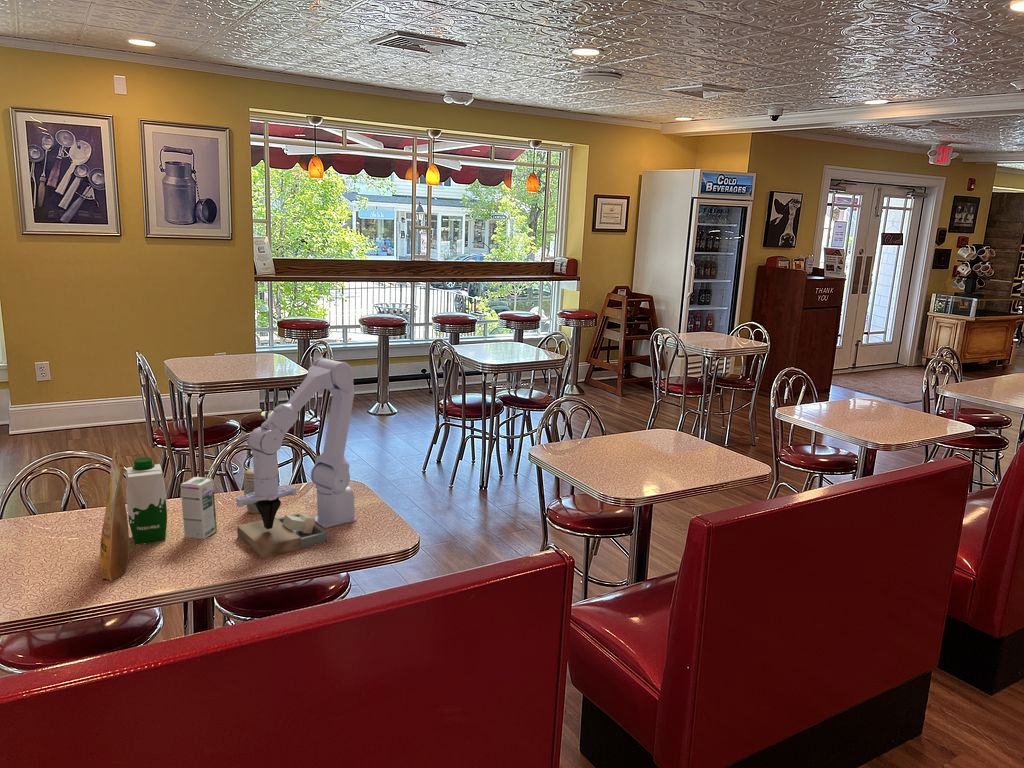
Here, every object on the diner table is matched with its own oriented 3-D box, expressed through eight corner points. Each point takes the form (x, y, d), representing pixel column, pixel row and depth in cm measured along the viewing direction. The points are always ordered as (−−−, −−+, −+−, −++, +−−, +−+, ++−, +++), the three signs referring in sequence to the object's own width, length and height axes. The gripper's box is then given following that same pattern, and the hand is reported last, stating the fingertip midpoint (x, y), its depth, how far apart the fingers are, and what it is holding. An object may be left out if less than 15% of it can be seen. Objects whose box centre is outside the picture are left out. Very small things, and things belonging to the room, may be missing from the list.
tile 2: (296, 528, 200) (304, 528, 202) (302, 533, 197) (311, 533, 199) (300, 513, 200) (308, 513, 202) (306, 518, 197) (315, 518, 199)
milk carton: (167, 528, 201) (161, 455, 196) (169, 541, 193) (164, 465, 189) (129, 534, 197) (123, 459, 192) (130, 547, 189) (124, 470, 185)
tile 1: (296, 526, 200) (299, 517, 200) (302, 531, 197) (305, 521, 197) (282, 524, 197) (285, 514, 198) (288, 529, 194) (291, 519, 195)
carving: (241, 510, 215) (239, 468, 212) (268, 504, 219) (266, 464, 216) (249, 517, 210) (247, 475, 207) (276, 511, 214) (274, 470, 212)
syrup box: (204, 539, 195) (201, 485, 191) (183, 537, 196) (179, 483, 193) (217, 531, 200) (214, 478, 197) (196, 528, 201) (193, 475, 198)
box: (300, 521, 207) (300, 513, 207) (327, 541, 195) (327, 532, 195) (275, 527, 203) (275, 518, 203) (301, 548, 191) (300, 539, 191)
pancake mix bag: (136, 548, 189) (128, 438, 183) (132, 582, 172) (123, 462, 166) (105, 552, 186) (95, 440, 180) (98, 587, 169) (87, 465, 163)
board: (275, 527, 203) (275, 517, 202) (301, 548, 191) (300, 537, 190) (237, 536, 197) (237, 525, 196) (261, 558, 185) (261, 547, 184)
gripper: (242, 486, 183) (245, 539, 186) (300, 474, 192) (302, 525, 195) (232, 478, 188) (235, 530, 191) (289, 467, 197) (290, 517, 200)
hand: (268, 527), depth 193 cm, fingers closed
